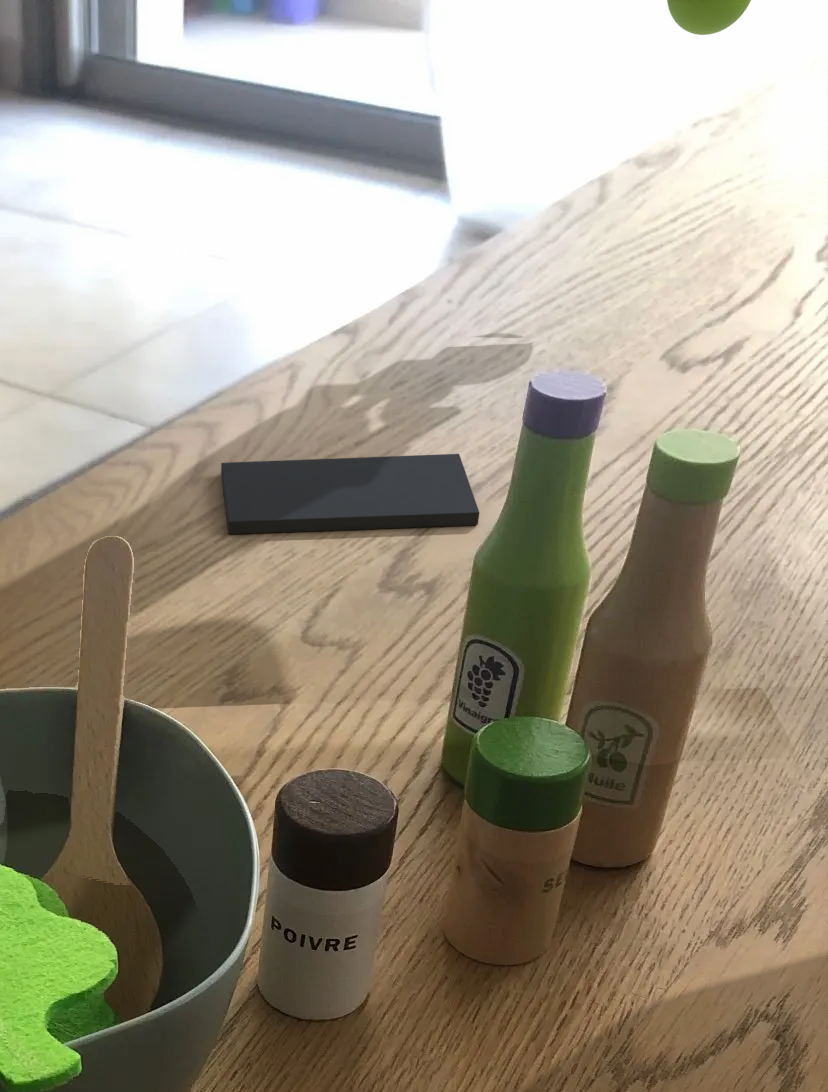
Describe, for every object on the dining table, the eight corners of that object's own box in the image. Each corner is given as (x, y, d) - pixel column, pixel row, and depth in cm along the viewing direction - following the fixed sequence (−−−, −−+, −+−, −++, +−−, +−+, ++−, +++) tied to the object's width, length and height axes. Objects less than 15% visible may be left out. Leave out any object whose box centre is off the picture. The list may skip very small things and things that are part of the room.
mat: (457, 466, 96) (459, 453, 96) (477, 525, 91) (479, 512, 91) (220, 475, 97) (221, 462, 96) (228, 534, 92) (228, 521, 91)
